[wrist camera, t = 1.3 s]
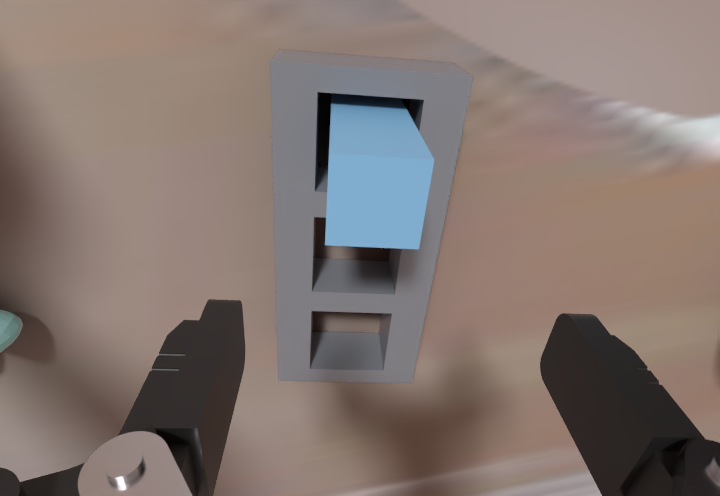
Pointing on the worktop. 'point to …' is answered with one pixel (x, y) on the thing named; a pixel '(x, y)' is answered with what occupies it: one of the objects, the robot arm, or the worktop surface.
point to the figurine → (9, 328)
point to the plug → (375, 174)
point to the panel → (309, 200)
